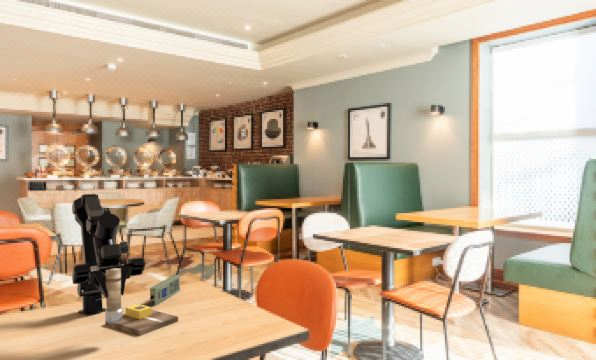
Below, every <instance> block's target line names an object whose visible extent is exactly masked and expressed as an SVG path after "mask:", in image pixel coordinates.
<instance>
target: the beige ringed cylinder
mask: <svg viewBox="0 0 596 360" xmlns="http://www.w3.org/2000/svg"><path fill="white" fill-rule="evenodd" d="M105 275H106V289H107V294H108V297H107V298H105V300H106V303H105V304H106V306H105V307H106V308H105V309H106V310H105V311H104V312H105V313H104V314H105V318H104V322H105V321H106V322H107V323H115V322H119V321H121V320H122V319H123V314H124V313H123V312H124V311H123V307H122V295H121V269H119V268H113V269H108V270H106V274H105Z"/></svg>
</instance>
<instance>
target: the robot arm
mask: <svg viewBox="0 0 596 360" xmlns="http://www.w3.org/2000/svg"><path fill="white" fill-rule="evenodd" d="M71 213H72V214H73V215H74V221H75V222H76V223H77V224H78V225H79V226H80V233H81V234H80V235H81V243H82V255H83V263H82V264H75V265H74V266H73V267H72V268H73V269H72V272H71V273H72V275H71V280H72V281H71V282H72V284H74V285H77V286H76V292H77V295H78V297H79V298H81V297H82V309H80V310H77V311H78V313H79V314H83V315H86V316H92V315H96V314H98V313H102V312H105V310H106V308H105V307H103V297H104V298H105V299H106V298H107V297H108V294H107V289H106V270H108V269H113V268H119V269H121V296H124V294H125V289H126V288H125V287H126V281H127V280H129V279H130V278H131V277H135V276H141V275H143V272H144V270H145V267H146V261H145V260H146V259H145V258H144V257H132V258H129V260H128V263H121V262H122V256H123V255H125V254H128V253H129V245H128V241H120V242H119V243H116V242H115V238H116V237H117V234H118V230H119V227H120V223H121V219H120V218H119V216H118V215H116V214H114V213H112V212H111V210H104V209H103V207H102V205H101V199H100V198H99V195H98V194H97V193H84V194H81V196H80V197H79V198H76V199H74V200H73V202H72V206H71Z"/></svg>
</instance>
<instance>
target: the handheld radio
mask: <svg viewBox="0 0 596 360" xmlns="http://www.w3.org/2000/svg"><path fill="white" fill-rule="evenodd" d="M180 291H181V283H180V274H174V275H172V276H169V277H168V278H166V279H164V280H163V281H160V282H159V283H156V284H155V285H153V286H150V288H149V295H150V297H149V299H150V302H148V303H147V304H145V305H144V306H148V307H152V306H155V307H156V306H158V305H160V304H161V303H162V302H164V301H166V300H167V299H169V298H171V297H173V296H174V295H176V294H178V293H179V292H180Z"/></svg>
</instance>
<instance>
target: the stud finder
mask: <svg viewBox="0 0 596 360" xmlns="http://www.w3.org/2000/svg"><path fill="white" fill-rule="evenodd" d="M124 309H125V310H124V311H125V313H126V316H130V317H133V318H137V319H142V318H145V317H148V316H151V315H152V311H151V310H152V306H150V307H148V306H145V305H144V304H139V303H135V304H132V305H130V306H126V307H125V308H124ZM125 313H124V314H125Z"/></svg>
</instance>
